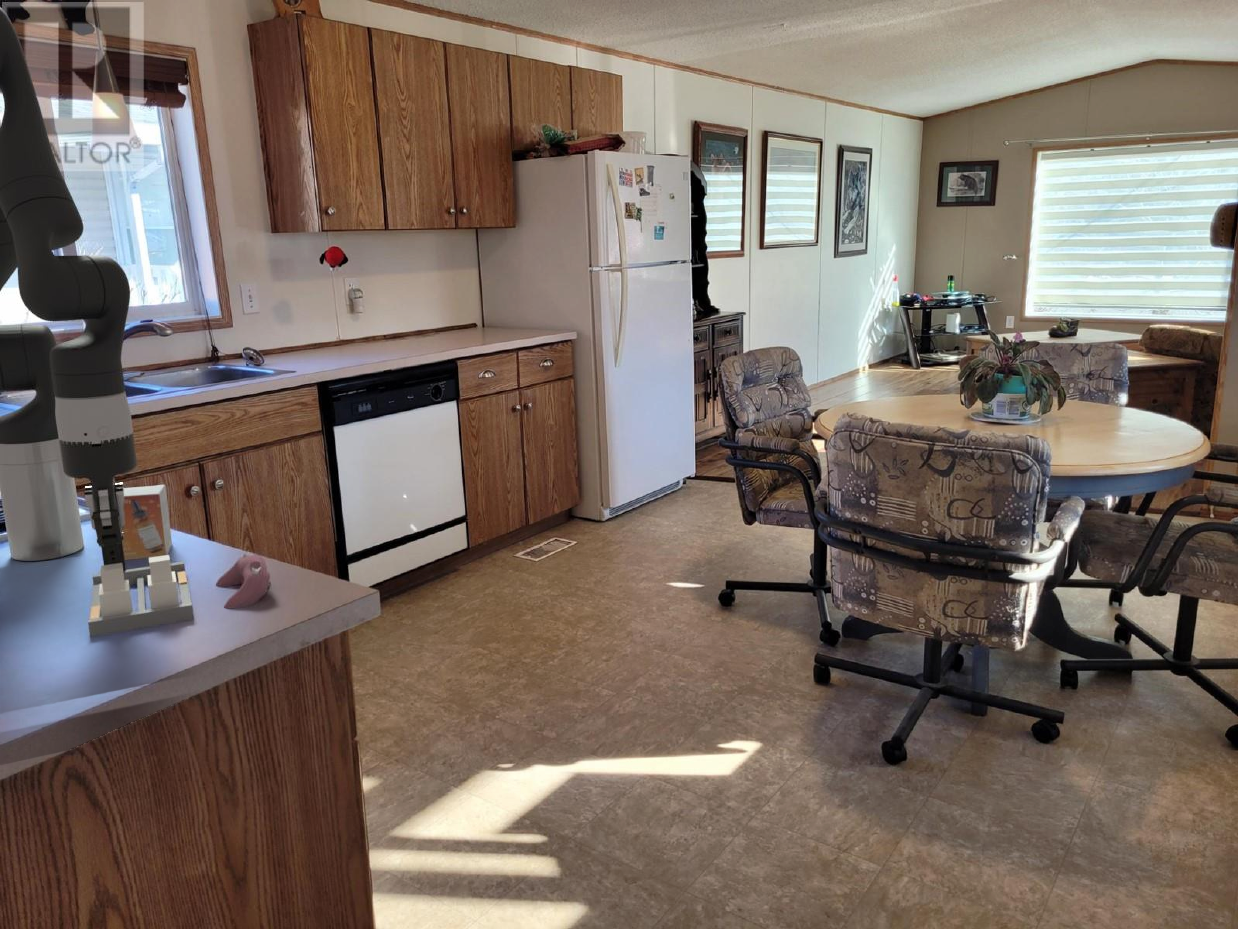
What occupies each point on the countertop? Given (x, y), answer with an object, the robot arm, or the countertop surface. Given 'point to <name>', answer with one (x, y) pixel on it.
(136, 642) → the countertop surface
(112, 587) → the tab
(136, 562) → the countertop surface
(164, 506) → the small box
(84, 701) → the countertop surface
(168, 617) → the switch bank
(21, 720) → the countertop surface
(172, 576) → the tab
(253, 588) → the video game controller
